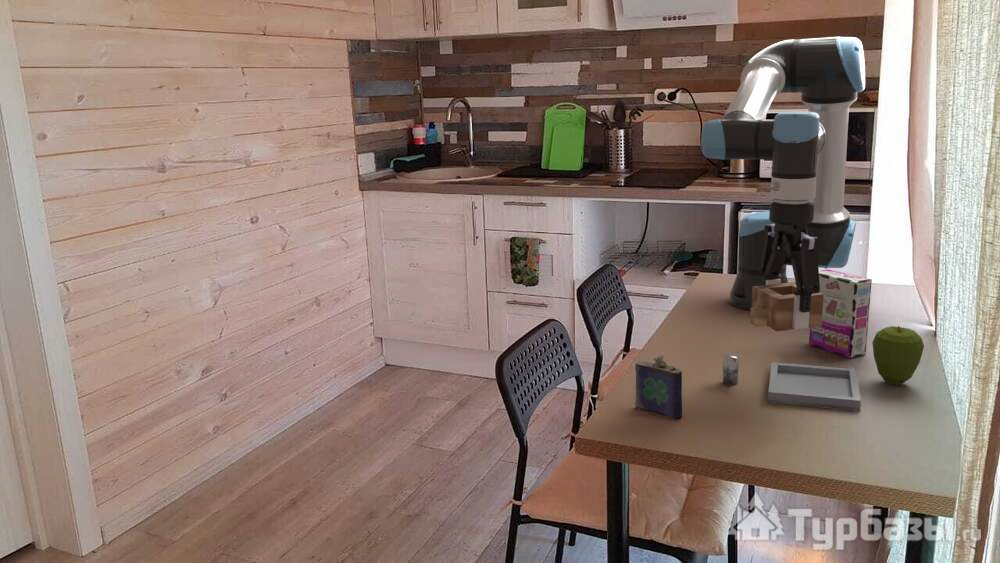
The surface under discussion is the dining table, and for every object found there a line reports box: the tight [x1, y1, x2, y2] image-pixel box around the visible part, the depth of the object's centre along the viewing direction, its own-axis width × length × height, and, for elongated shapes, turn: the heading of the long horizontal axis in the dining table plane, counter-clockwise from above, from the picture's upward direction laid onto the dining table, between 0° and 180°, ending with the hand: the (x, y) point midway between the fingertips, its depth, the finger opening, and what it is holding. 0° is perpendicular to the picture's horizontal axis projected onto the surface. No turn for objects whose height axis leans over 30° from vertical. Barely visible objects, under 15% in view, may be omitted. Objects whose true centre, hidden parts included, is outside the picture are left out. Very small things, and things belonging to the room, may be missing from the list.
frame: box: [749, 281, 824, 332], centre depth 147 cm, size 9×11×6 cm
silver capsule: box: [722, 353, 740, 386], centre depth 154 cm, size 3×3×6 cm
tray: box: [767, 361, 862, 412], centre depth 149 cm, size 15×15×2 cm
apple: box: [872, 325, 925, 386], centre depth 149 cm, size 9×8×12 cm
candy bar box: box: [808, 268, 873, 359], centre depth 167 cm, size 11×5×16 cm, turn 27°
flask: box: [635, 355, 683, 421], centre depth 142 cm, size 9×3×11 cm, turn 48°
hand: (785, 320), depth 148 cm, fingers closed on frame, 9 cm apart
